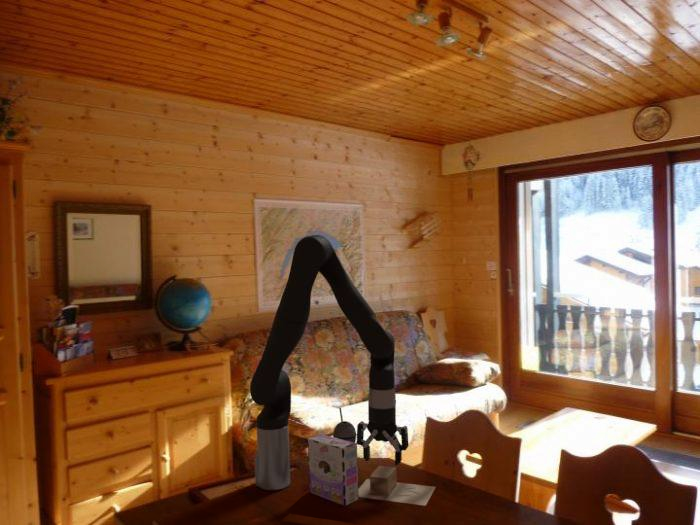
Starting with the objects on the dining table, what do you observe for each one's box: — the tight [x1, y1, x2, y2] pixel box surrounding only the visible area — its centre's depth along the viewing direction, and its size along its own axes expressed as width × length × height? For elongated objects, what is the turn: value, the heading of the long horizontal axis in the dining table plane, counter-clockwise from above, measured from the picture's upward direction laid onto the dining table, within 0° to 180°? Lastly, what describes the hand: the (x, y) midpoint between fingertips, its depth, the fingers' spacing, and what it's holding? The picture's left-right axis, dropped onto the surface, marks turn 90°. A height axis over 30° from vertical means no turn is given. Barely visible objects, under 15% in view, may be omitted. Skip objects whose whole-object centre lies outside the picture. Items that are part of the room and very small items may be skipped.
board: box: [358, 478, 436, 507], centre depth 149 cm, size 20×12×2 cm, turn 69°
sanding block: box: [369, 465, 398, 497], centre depth 150 cm, size 5×8×5 cm, turn 159°
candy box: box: [306, 433, 360, 507], centre depth 148 cm, size 14×6×16 cm, turn 47°
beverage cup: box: [332, 407, 357, 443], centre depth 167 cm, size 7×7×20 cm
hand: (382, 462), depth 151 cm, fingers open, 8 cm apart
